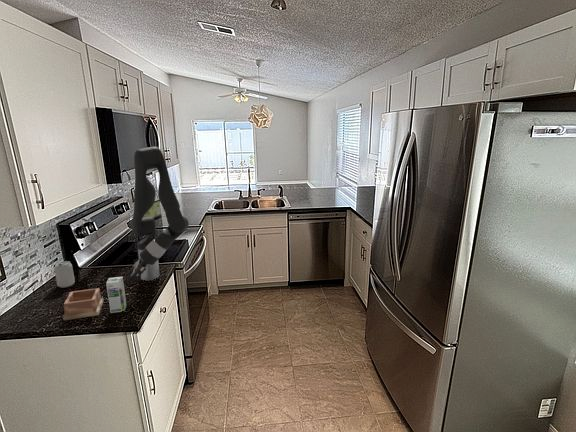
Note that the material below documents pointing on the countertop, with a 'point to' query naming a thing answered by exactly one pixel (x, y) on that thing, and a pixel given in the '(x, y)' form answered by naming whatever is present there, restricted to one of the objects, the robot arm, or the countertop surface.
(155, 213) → the protein box
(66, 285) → the can
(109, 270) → the countertop surface
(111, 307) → the syrup box
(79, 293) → the wooden tray
